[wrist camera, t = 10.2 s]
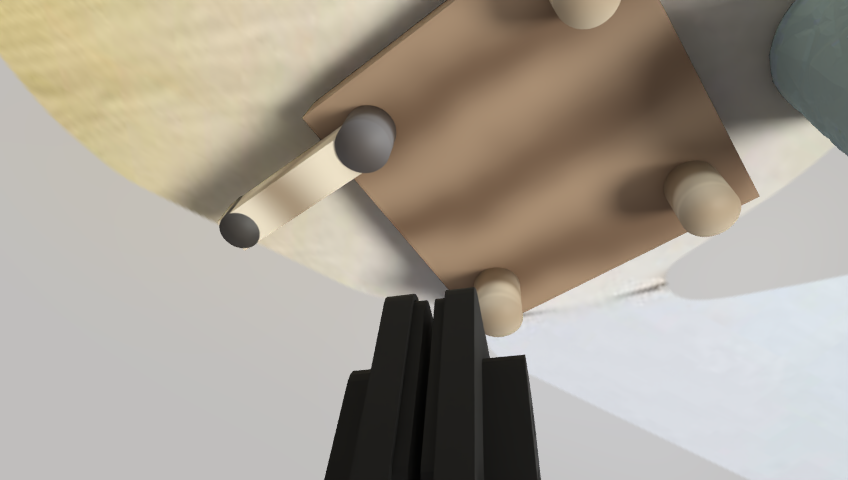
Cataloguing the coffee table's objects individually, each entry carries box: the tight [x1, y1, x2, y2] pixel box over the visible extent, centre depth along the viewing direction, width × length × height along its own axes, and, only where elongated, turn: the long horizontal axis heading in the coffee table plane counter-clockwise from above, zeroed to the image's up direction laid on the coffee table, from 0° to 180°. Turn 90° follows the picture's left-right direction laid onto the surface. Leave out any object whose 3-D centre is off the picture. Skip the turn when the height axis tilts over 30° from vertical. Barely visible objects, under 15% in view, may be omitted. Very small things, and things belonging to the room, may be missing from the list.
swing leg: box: [217, 105, 396, 250], centre depth 36 cm, size 13×3×3 cm, turn 126°
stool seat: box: [303, 0, 759, 337], centre depth 35 cm, size 20×20×6 cm
